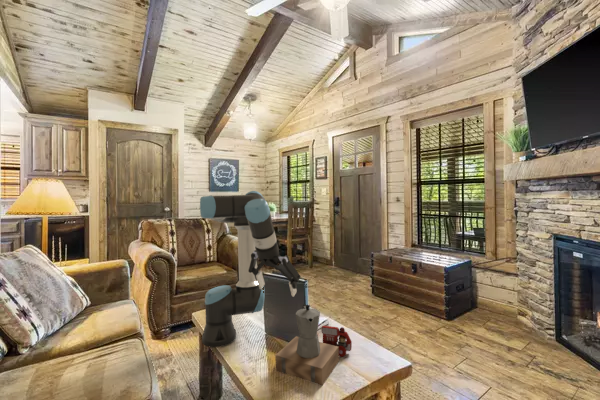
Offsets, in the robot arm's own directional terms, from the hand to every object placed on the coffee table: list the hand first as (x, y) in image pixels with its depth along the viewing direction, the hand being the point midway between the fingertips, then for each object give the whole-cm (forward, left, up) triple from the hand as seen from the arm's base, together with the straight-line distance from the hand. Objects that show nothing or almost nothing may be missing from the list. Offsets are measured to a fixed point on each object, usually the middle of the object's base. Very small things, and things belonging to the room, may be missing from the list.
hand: (277, 290), depth 108 cm
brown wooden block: (+8, +8, -31) cm, 33 cm away
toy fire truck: (+14, +23, -31) cm, 41 cm away
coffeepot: (+8, +9, -25) cm, 28 cm away
